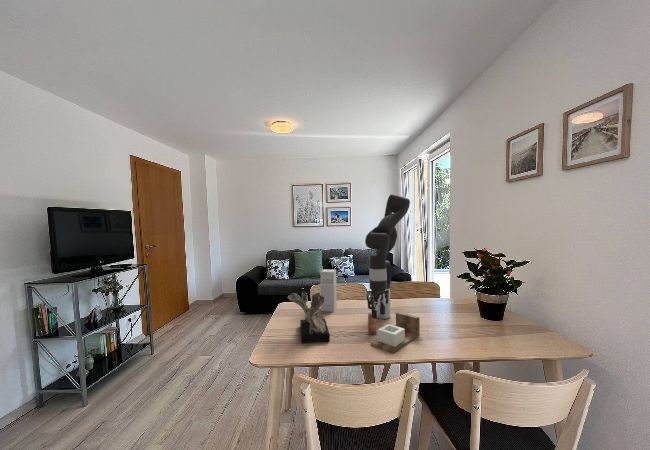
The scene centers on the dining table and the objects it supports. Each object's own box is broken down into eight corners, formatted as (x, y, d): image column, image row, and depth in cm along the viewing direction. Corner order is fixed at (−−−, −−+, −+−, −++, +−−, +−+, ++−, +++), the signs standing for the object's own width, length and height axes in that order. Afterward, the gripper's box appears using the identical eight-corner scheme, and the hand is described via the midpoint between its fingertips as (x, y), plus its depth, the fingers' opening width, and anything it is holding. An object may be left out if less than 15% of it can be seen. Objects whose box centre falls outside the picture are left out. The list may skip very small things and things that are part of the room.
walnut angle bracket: (370, 345, 131) (370, 325, 131) (397, 328, 149) (397, 311, 149) (393, 353, 123) (393, 332, 122) (419, 335, 141) (419, 317, 140)
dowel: (366, 333, 144) (366, 313, 144) (371, 330, 147) (370, 311, 147) (373, 335, 141) (372, 315, 141) (377, 333, 144) (377, 313, 144)
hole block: (377, 341, 132) (377, 329, 132) (388, 334, 139) (387, 323, 139) (395, 346, 126) (394, 334, 126) (404, 340, 133) (404, 328, 133)
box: (336, 307, 186) (336, 269, 185) (334, 311, 177) (333, 272, 177) (324, 306, 187) (323, 269, 187) (321, 310, 179) (320, 271, 178)
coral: (330, 345, 132) (329, 299, 131) (286, 347, 130) (285, 301, 129) (326, 324, 156) (325, 286, 156) (289, 326, 155) (288, 287, 154)
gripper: (379, 274, 132) (380, 310, 132) (361, 280, 121) (361, 318, 122) (394, 276, 126) (394, 313, 127) (376, 282, 116) (376, 323, 117)
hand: (378, 316), depth 124 cm, fingers open, 6 cm apart
